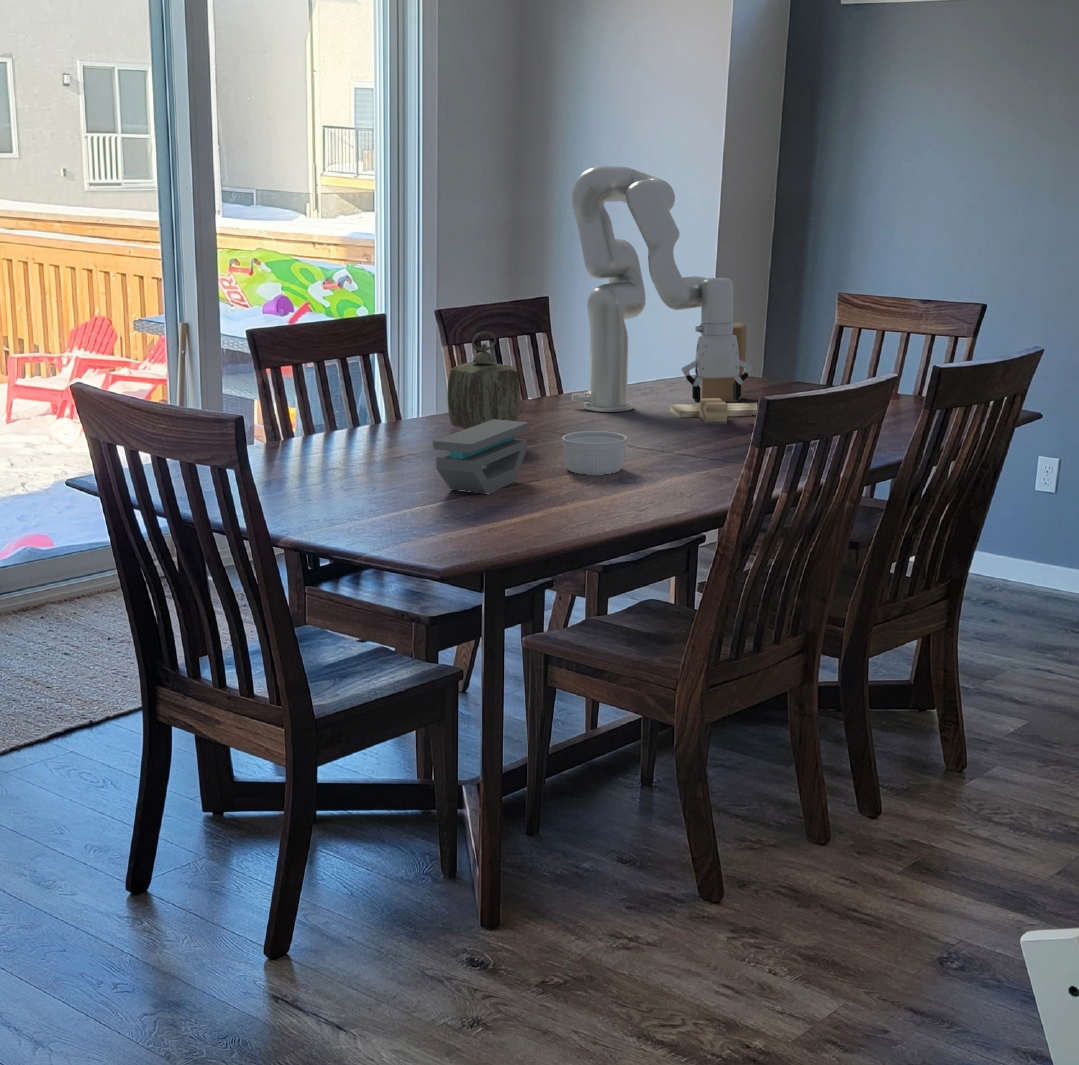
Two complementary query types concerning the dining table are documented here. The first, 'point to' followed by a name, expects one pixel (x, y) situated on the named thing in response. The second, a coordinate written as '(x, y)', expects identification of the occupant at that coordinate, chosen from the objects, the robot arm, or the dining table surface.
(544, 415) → the dining table surface
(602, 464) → the ramekin
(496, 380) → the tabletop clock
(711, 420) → the block
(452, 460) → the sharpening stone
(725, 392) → the wooden block
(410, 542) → the dining table surface
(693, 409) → the birch plank
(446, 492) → the dining table surface
